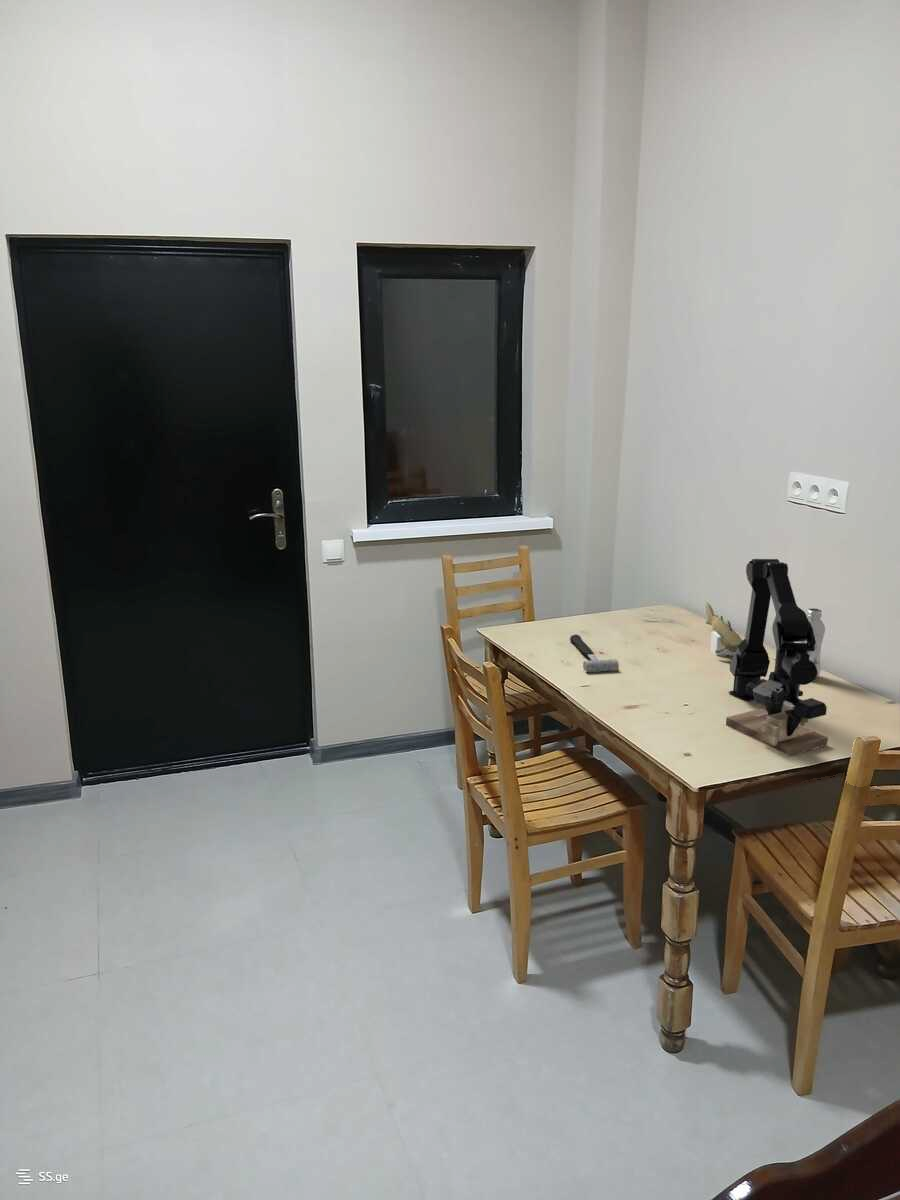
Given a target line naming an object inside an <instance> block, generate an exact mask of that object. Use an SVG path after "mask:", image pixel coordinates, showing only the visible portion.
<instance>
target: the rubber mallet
mask: <svg viewBox="0 0 900 1200" xmlns="http://www.w3.org/2000/svg"><path fill="white" fill-rule="evenodd" d="M569 641H570V642H571V643H572V644H574V646H575V647H577V648H578V649H579V651H580V652H581V653H582V654H583V655H584V656H586V657H587V658H589V659H590V660H583V665H582V669H584V670H585V671H586V672H593V673H602V672H601V671H610V672H619V669H620V668H619V667H620V665H619V661H618V660H619V659H617V658H614V659H613V658H611V659H599V658H598V657H597V656H596V655H595V652H594V651H593V650H592V649H591V648H590V646H589V645H587V644H586V642H585V641H584V640H583V639H582V637H581V636H580V635H579V634H573V635H571V636H570V638H569ZM584 670H583V671H584ZM585 671H584V672H585ZM586 672H585V673H586Z"/></svg>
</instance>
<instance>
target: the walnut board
mask: <svg viewBox="0 0 900 1200" xmlns="http://www.w3.org/2000/svg"><path fill="white" fill-rule="evenodd" d="M767 716H768V712H767V709H764V708H758V709H754V710H750V711H747V712H742V713H738V714H734V715H729V716H727V717H726V718H725V725H726V726H727V727H729V728H732V729H733V730H736V731H737V732H740V733H742V734H743V735H745V736H746V735H747V736H748V737H750V738H753V739H754V740H756V741H758V742H760V743H762V744H765V745H767V746H768V747H771V748H773V749H775V750H776V751H779V752H781V753H783V754H785V755H787V756H789V757H793V756H795V755H799V754H802V753H801V752H803V753H805V752H804V751H806V752H809V751H808V750H810V751H812V749H813V750H815V749H814V748H817V747H820V748H822V747H821V746H824V747H826V746H825V745H827V746H828V743H829V742H828V740H829V737H827V736H825V735H823V734H820V733H819V732H817V731H814V730H813V729H809V728H808V727H805V726H804V725H801V724H799V725H798V735H797V737H795V738H791V739H788V740H784V741H780V742H777V745H776V746H773V745H771V744H769V743H767V742H765V741H763V740H761V730H762V722H765V721H766V722H767ZM817 749H818V748H817ZM798 753H799V754H798ZM792 755H793V756H792Z"/></svg>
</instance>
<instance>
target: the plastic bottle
mask: <svg viewBox="0 0 900 1200" xmlns="http://www.w3.org/2000/svg"><path fill="white" fill-rule="evenodd" d="M822 613H823V612H822V609H820V608H808V609H807V613H806V616H807V618H808V620H809V622H810V623H811V626H812V628H813V632H814V637H815V641H816V644H815V646H814V648H815V650H814V651H807V653H808V654H809V656H810V657H809V659H810V660H811V661H812V662H813V663H814V664H815V666H816V668H817V676H816V678H815V679H817V678H818V677H819V676H820V674H821V672H822V668H821V667H822V666H821V665H822V664H821V652H822V651H821V650H822V645H823V644H822V643H823V640H824V636H825V633H826V626H825V624H824V622H823V620H822V619H821V618H822V617H823V615H822ZM800 643H807V640H805V641H804V642H800Z"/></svg>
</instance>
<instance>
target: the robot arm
mask: <svg viewBox="0 0 900 1200" xmlns="http://www.w3.org/2000/svg"><path fill="white" fill-rule="evenodd" d="M745 571H746V572H745V574H746V578H747V581H748V583H749V585H750V586H751V594H750V595H751V596H750V602H749V609H748V615H747V624H746V630H745V635H744V639H742V640H743V641H742V642H741V643H740V644H739V645H738V646H737V651H736V654H735V655H732V656H733V657H732V658H731V659H730V660H731V661H729V672H730V673H731V675H732V676H733V687H732V688H733V690H729V691H728V694H730V695H731V696H734V697H736V698H739V699H741V700H743V701H745V702H747V701H752V700H754V702H755V703H756V704H759V705H762V706H764V707H765V710H766V711H767V712H768V715H772V714H776V713H780V712H783V706H784V703H786V704H788V705H791V707H790V709H787V710H784V711H785V713H786V714H787V716H788V720H787V736H791V735H792V734H793V732H794V731H795V729H796V728H797V726H798V725H800V724H799V723H800V722H801V720H802V719H803V718H806V719H808V720H812V719H817V718H819V717H824V716H826V715H827V709H828V708H827V705H826V704H825V702H823V701H820V700H817V699H815V698H813V697H811V698H805V699H801V698H799V697H802V696H803V695H804V691H803V690H800V688H801V686H805V685H809V684H811V683H813V682H814V680H816V679H817V678H816V676H817V668H816V666H815V664H814V663H813V662H812V661H811V660H810V659H809V657H810V656H809V654H808V653H807V651H814V650H815V648H814V646H815V644H816V641H815V637H814V632H813V628H812V626H811V623H810V622H809V620H808V616H807V613H806V612H805V610H803V609H802V608H800V607H799V606H798V604H797V601H796V598H795V595H794V591H793V588H792V584H791V581H790V579H789V575H788V574H789V566H788V563H786V562H785V563H784V561H783V562H781V561H780V560H779V559H778V558H752V559H751V560H749V562H748V563H747V564H746V567H745ZM771 601H772V603H773V607H774V611H775V616H774V620H773V622H772V634H773V635H772V636H773V639H774V644H775V647H776V649H775V660H774V661H775V662H774V671H771V672H769V667H770V663H771V660H770V658H769V656H770V655H769V653H768V651H767V649H766V647H765V645H764V640H765V635H766V634H765V633H766V628H767V622H768V616H769V610H770V603H771ZM805 640H807V643H801V642H804V641H805ZM768 672H769V673H770V674H768ZM767 675H768V678H767V679H765V678H766V677H767ZM762 677H763V678H762Z"/></svg>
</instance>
